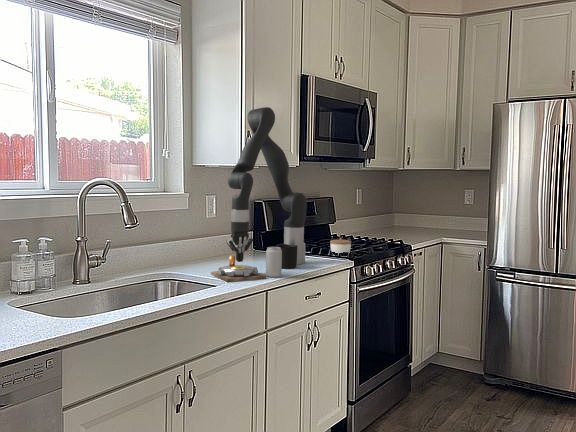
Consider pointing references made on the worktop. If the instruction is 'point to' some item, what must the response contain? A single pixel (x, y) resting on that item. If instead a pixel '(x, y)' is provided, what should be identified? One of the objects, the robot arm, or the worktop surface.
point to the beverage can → (273, 262)
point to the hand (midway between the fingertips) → (239, 261)
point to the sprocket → (237, 269)
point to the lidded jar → (340, 246)
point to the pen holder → (288, 256)
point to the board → (238, 277)
